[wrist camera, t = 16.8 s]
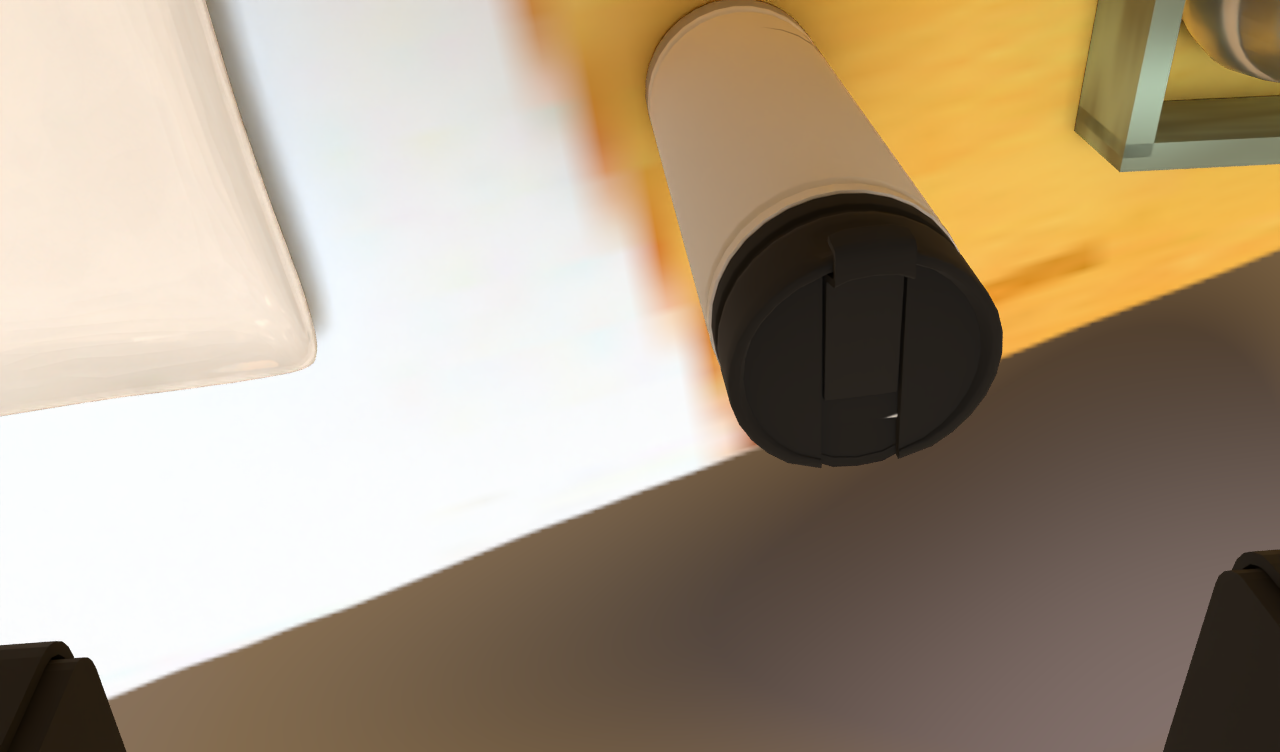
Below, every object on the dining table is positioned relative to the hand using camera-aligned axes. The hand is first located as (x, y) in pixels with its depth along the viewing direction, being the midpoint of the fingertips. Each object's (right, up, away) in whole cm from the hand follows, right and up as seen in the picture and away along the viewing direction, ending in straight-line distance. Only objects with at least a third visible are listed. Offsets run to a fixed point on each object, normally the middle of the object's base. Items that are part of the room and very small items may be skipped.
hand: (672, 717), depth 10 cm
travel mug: (+3, +14, +33) cm, 36 cm away
